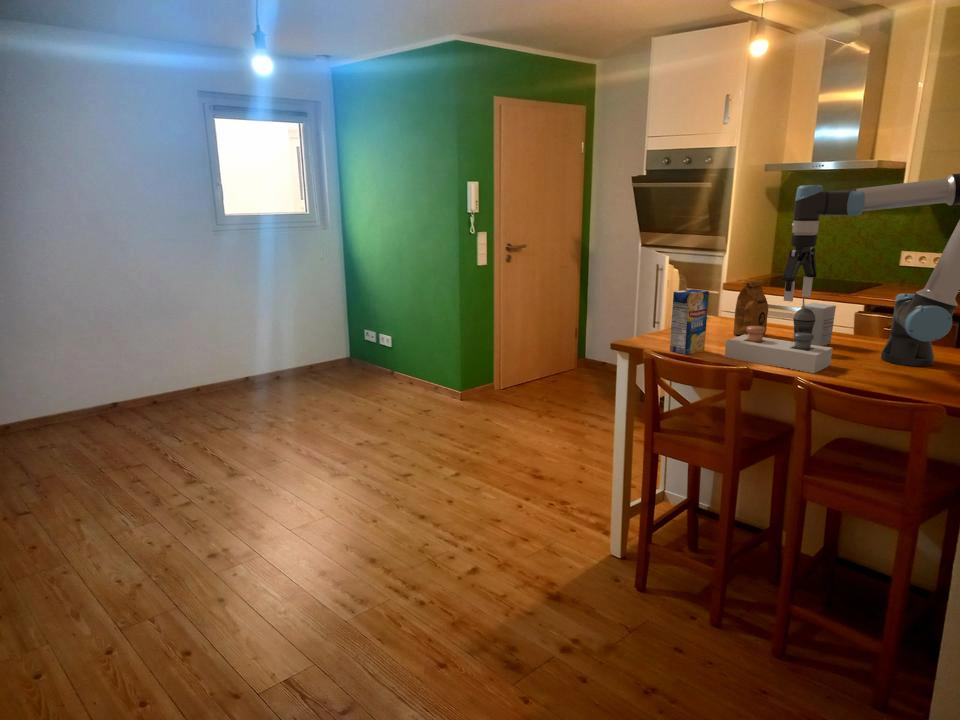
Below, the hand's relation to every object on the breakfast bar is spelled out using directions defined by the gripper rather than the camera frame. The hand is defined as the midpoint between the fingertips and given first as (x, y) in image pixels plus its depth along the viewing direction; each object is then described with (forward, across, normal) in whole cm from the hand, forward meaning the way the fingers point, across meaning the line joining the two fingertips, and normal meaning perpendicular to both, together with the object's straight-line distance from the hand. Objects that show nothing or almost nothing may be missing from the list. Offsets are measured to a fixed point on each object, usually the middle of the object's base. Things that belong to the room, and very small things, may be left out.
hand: (797, 298), depth 216 cm
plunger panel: (+22, +3, -3) cm, 22 cm away
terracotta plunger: (+17, +3, -11) cm, 20 cm away
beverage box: (+22, +12, -32) cm, 41 cm away
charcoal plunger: (+17, +3, +5) cm, 17 cm away
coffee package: (+22, -30, -30) cm, 47 cm away
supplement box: (+22, -33, -6) cm, 40 cm away
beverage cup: (+22, -18, -4) cm, 28 cm away
